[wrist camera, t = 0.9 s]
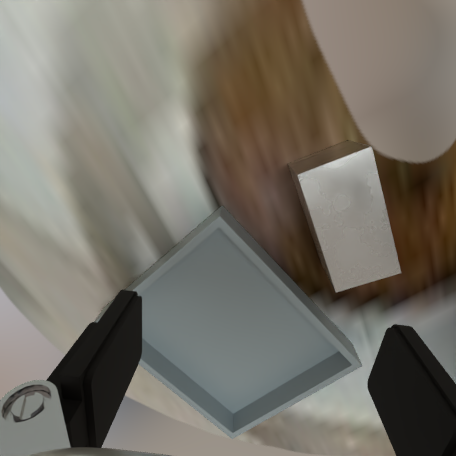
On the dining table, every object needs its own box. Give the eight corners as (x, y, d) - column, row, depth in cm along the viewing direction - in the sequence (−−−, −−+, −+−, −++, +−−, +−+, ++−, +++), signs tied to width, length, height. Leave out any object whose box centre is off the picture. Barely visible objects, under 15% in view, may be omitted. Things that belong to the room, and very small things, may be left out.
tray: (351, 343, 37) (362, 365, 34) (233, 414, 43) (232, 438, 40) (222, 205, 32) (219, 216, 28) (104, 307, 37) (91, 325, 34)
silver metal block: (374, 245, 33) (401, 272, 27) (320, 262, 34) (335, 292, 28) (346, 139, 29) (371, 146, 23) (287, 163, 30) (297, 174, 24)
